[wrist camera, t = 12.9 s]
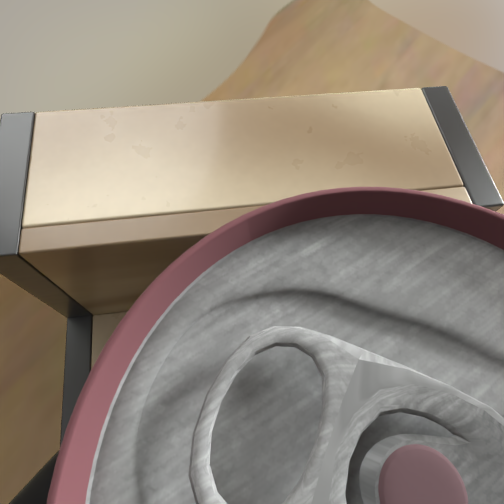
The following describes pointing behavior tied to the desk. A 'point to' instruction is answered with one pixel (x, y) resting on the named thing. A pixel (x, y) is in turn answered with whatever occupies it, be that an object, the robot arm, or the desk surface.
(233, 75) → the desk surface
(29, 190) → the shelf
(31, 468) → the desk surface
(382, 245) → the soda can
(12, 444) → the desk surface
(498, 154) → the desk surface
